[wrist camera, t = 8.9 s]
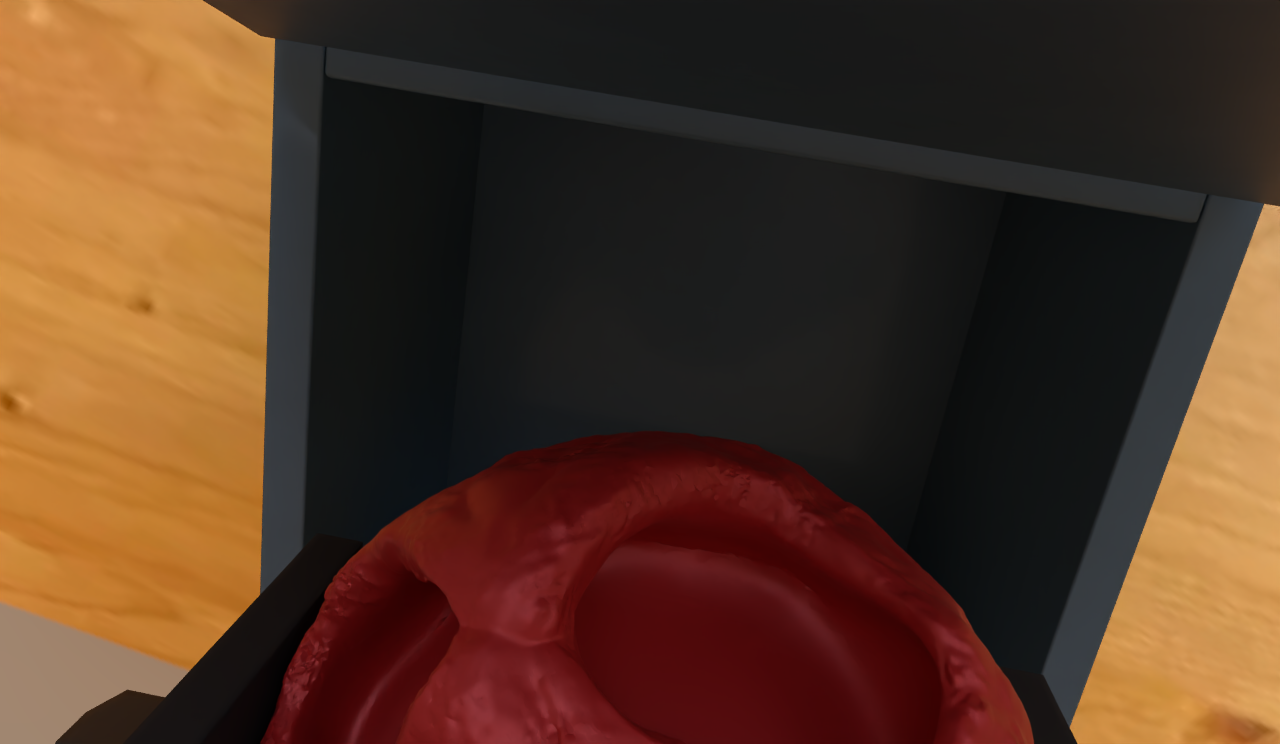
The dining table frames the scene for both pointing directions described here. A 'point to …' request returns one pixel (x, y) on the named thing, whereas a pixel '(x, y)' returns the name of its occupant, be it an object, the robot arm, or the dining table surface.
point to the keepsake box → (732, 322)
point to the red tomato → (641, 614)
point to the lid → (884, 70)
